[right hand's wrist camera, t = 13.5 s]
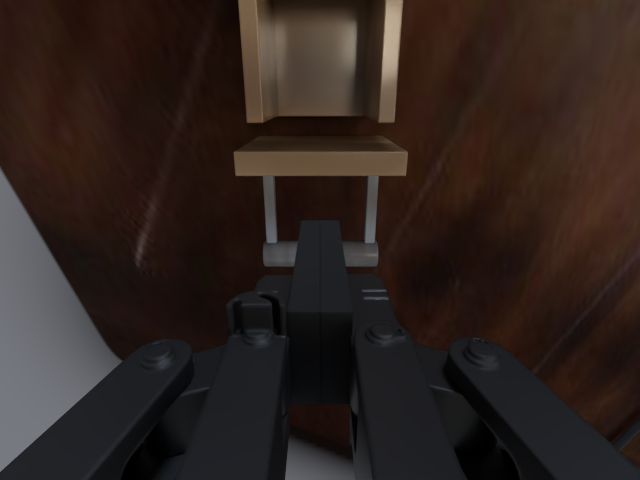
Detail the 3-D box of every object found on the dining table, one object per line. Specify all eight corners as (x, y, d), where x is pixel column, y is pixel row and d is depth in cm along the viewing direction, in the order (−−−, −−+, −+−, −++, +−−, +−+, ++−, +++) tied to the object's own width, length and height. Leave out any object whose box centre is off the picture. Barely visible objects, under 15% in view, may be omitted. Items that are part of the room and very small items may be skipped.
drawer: (376, 234, 28) (396, 284, 20) (265, 234, 28) (244, 284, 20) (404, -233, 18) (461, -460, 11) (236, -233, 18) (180, -459, 11)
